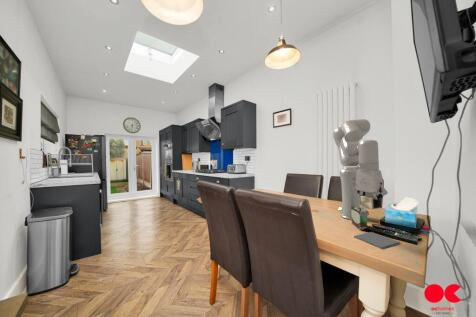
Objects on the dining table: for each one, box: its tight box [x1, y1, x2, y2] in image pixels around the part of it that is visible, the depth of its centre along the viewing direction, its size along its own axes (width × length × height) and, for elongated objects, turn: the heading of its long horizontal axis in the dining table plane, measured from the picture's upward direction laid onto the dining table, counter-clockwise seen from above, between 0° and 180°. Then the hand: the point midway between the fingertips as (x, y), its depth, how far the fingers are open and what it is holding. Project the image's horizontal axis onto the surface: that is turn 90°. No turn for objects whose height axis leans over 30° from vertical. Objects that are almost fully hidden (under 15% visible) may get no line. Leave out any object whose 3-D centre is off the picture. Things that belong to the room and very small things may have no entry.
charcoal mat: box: [353, 231, 401, 250], centre depth 82 cm, size 12×12×1 cm
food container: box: [351, 206, 370, 231], centre depth 97 cm, size 12×6×10 cm, turn 168°
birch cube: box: [360, 194, 379, 210], centre depth 83 cm, size 5×5×5 cm
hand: (370, 205), depth 83 cm, fingers closed on birch cube, 5 cm apart
